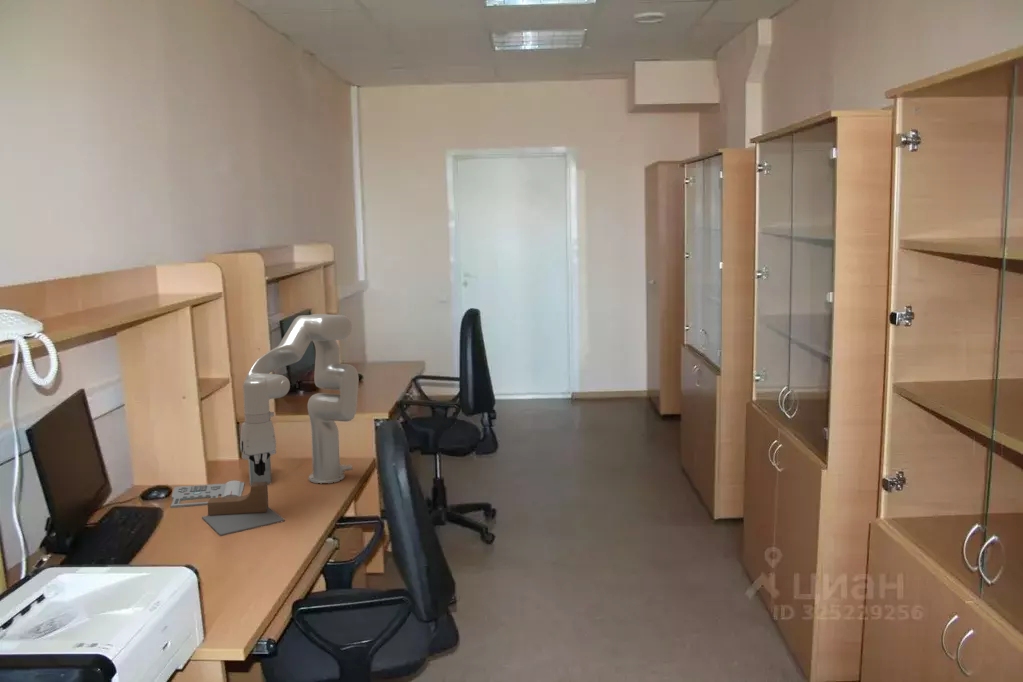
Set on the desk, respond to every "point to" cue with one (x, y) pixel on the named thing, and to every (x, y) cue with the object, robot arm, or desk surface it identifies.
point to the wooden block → (241, 502)
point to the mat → (241, 521)
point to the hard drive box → (262, 478)
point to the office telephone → (205, 493)
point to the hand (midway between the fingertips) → (260, 474)
